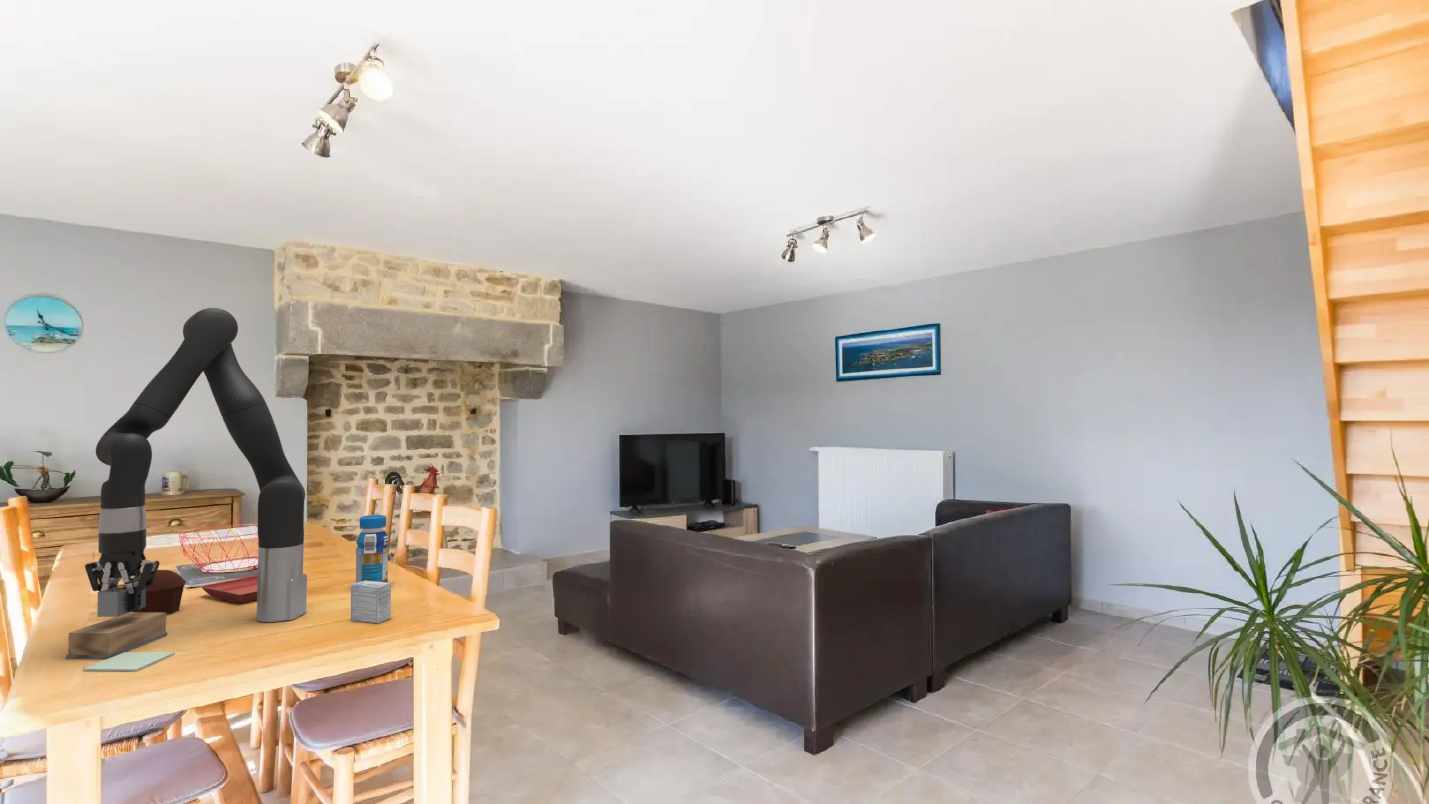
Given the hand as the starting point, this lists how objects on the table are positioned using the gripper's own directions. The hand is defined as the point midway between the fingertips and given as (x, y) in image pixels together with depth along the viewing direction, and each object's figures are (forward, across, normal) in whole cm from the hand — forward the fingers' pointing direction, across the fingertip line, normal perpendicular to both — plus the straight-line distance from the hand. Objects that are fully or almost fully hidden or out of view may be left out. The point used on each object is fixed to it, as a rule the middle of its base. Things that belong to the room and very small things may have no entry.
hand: (122, 610), depth 140 cm
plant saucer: (+8, 0, -42) cm, 43 cm away
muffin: (+8, +12, -24) cm, 28 cm away
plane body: (+8, +1, 0) cm, 8 cm away
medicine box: (+8, -42, -19) cm, 47 cm away
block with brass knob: (0, 0, 0) cm, 0 cm away
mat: (+8, -9, +9) cm, 15 cm away
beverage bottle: (+8, -28, -49) cm, 57 cm away
